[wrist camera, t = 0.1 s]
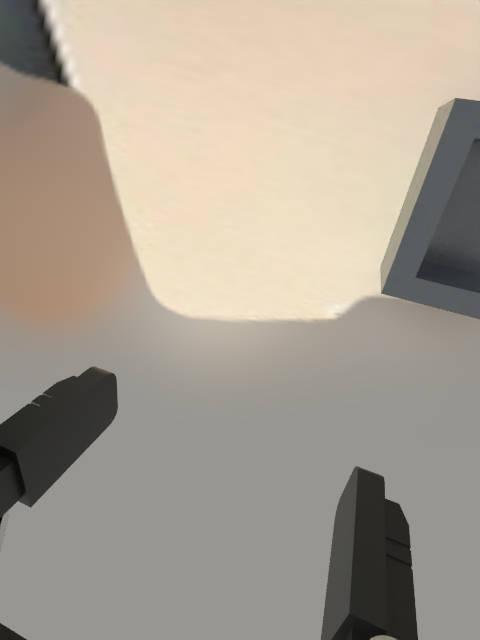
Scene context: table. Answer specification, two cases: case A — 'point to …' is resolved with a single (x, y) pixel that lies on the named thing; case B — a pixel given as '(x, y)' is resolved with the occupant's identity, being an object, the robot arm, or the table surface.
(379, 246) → the table surface
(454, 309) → the open box
